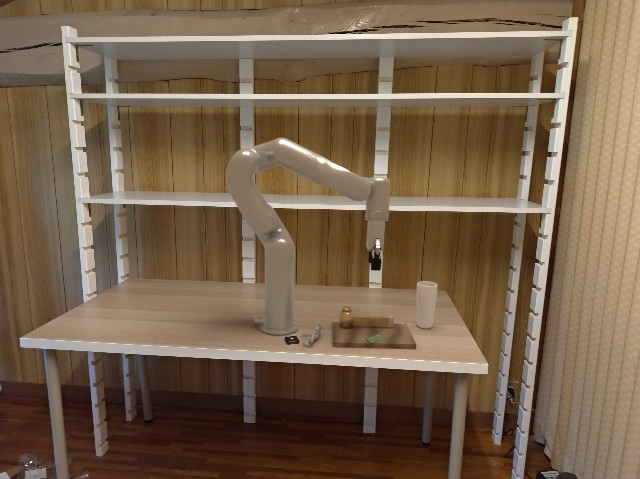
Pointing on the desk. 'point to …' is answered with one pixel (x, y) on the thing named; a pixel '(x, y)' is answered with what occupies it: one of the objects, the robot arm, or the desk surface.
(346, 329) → the wooden cutting board
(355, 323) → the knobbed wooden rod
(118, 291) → the desk surface
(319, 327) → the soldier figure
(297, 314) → the desk surface
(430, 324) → the drinking glass
